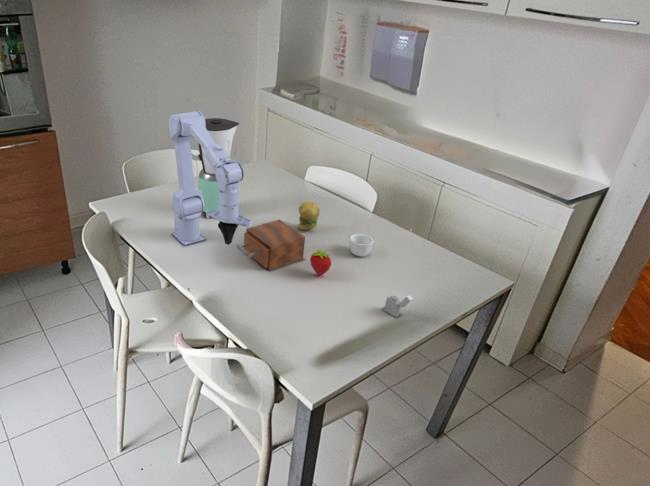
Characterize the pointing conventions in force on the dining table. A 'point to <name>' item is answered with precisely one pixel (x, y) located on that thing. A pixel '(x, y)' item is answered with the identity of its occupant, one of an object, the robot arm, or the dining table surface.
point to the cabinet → (280, 242)
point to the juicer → (208, 183)
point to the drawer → (255, 249)
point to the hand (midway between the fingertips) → (228, 242)
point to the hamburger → (308, 215)
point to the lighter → (396, 304)
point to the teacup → (360, 244)
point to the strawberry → (320, 262)
